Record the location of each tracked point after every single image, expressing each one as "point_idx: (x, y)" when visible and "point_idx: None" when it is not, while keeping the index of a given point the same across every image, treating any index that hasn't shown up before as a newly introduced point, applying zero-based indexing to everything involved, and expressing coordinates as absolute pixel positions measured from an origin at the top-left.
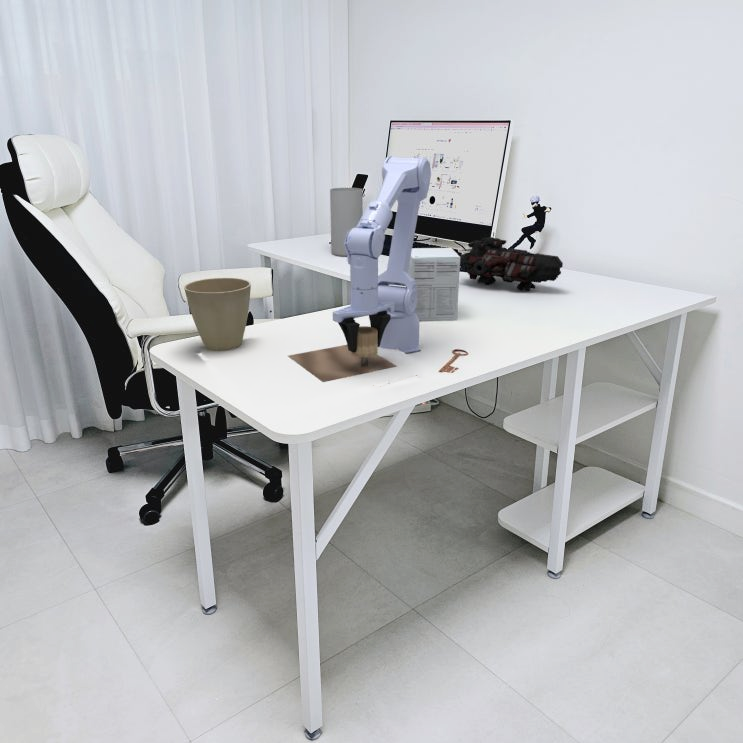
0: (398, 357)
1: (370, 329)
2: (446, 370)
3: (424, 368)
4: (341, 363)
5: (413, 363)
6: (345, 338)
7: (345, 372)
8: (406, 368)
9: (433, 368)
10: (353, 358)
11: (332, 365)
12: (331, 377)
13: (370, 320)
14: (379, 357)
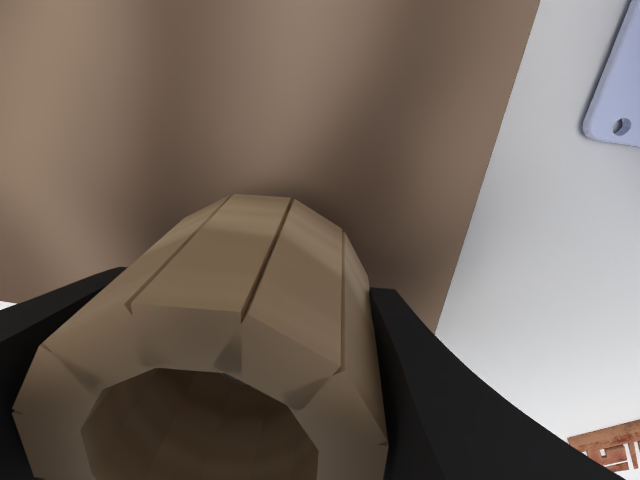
0: (629, 176)
1: (319, 449)
2: (605, 451)
3: (563, 379)
4: (172, 126)
5: (592, 303)
6: (9, 310)
7: (124, 265)
8: (499, 329)
9: (593, 402)
10: (299, 97)
11: (99, 119)
12: (23, 273)
13: (428, 471)
14: (458, 200)
